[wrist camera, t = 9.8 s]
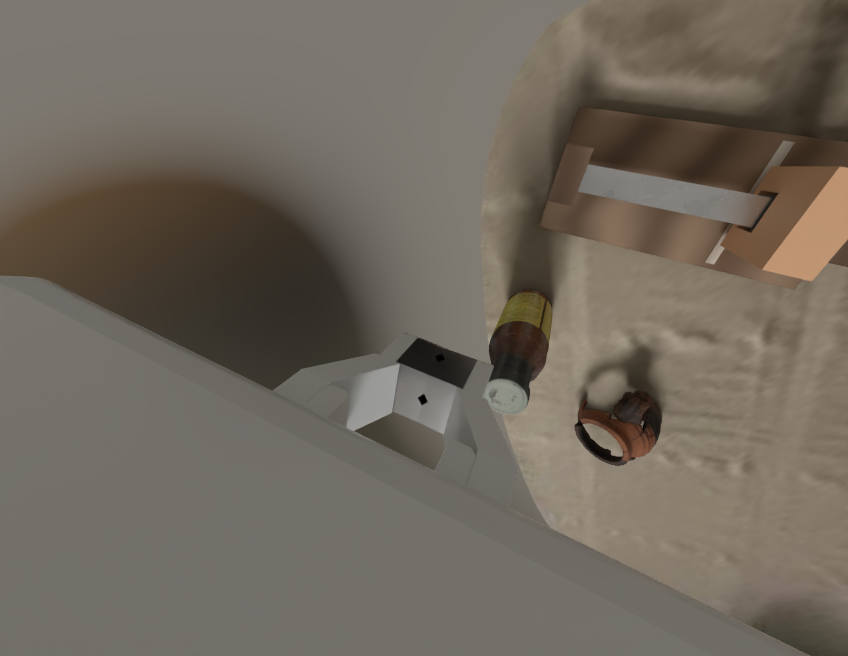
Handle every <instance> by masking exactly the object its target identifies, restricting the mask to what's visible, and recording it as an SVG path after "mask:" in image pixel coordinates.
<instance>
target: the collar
mask: <svg viewBox="0 0 848 656" xmlns="http://www.w3.org/2000/svg"><path fill="white" fill-rule="evenodd" d="M754 194H755V195H759V194H761V195H768V196H774V197H776V198H775V199H774V201H773V202H772V204H771V205H770V207H769V208H768V209H767V211H766V212H765V214H764V215H763V217H762V218H761V220H760V221H759V223H758V224H757V225H756V227H755V228H754V229H750V228H748V227H745V226H742V225H737V224H733V226H732V227H731V229H730V230H729V232H728V233H727V235H726V236H725V238H724V240H723V241H722V243H721V244H720V246H722V247H724V248H725V249H727V250H729V251H731V252H732V253H734V254H736V255H738V256H739V257H741V258H743V259H744V260H746V261H748V262H750V263H751V264H753V265H755V266H756V267H758V268H760V269H762V270H765V271H770V272H774V273H778V274H782V275H787V276H791V277H795V278H799V279H803V280H808V281H812V280H813V279H814V278H815V277H816V276H817V275H818V274H819V272H820V271H821V270H822V269H823V268H824V267H825V265H826V264H827V263H828V262H829V261H830V260H831V258H832V257H833V256H834V255H835V254H836V253H837V251H838V250H839V249H840V248H841V247H842V246H843V244H844V243H845V242H846V241H847V240H848V168H846V167H840V166H771V168H770V169H769V171H768V172H767V174H766V175H765V177H764V178H763V180H762V181H761V183H760V184H759V186H758V187H757V189H756V190H755V192H754Z"/></svg>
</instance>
